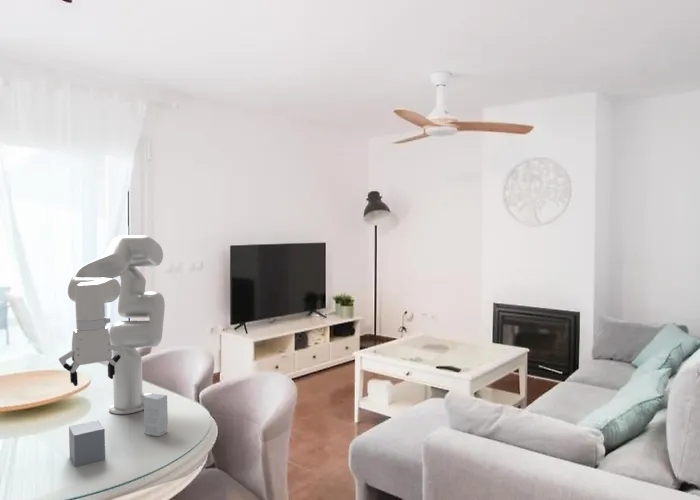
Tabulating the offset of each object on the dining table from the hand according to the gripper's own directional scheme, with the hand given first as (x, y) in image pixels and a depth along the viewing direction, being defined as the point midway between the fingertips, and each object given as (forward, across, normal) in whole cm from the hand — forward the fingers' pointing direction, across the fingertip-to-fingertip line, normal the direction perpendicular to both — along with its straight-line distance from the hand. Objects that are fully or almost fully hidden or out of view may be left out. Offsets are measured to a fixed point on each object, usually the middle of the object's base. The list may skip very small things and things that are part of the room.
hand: (93, 381), depth 154 cm
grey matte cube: (+20, +4, +7) cm, 21 cm away
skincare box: (+21, -17, +1) cm, 27 cm away
